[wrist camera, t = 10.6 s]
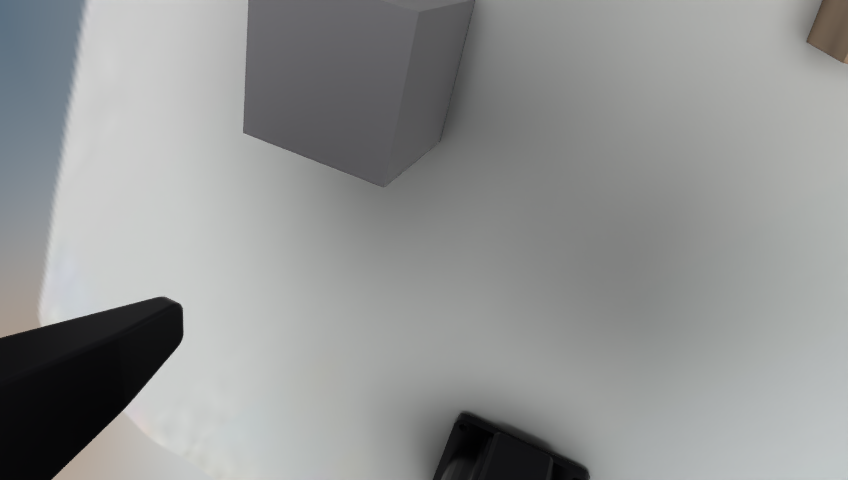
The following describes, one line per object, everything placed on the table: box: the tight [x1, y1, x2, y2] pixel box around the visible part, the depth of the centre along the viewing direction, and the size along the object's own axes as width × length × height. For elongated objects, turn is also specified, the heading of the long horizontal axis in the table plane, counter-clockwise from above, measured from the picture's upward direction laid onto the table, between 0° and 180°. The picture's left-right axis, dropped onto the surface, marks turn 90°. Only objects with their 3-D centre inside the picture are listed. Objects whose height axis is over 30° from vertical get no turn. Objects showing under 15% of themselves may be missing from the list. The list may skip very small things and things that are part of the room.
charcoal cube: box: [243, 0, 475, 187], centre depth 17 cm, size 5×5×5 cm
